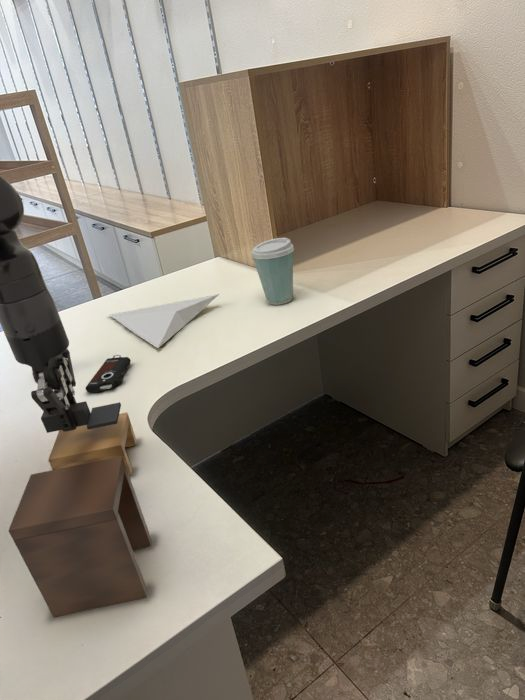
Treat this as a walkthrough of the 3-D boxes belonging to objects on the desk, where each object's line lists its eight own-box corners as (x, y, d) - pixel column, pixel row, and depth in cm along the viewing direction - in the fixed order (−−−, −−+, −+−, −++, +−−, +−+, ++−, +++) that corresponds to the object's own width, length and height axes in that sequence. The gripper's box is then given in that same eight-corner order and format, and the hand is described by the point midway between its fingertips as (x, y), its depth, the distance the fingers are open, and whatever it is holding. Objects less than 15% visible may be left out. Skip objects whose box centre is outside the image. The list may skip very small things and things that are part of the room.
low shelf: (61, 490, 82) (48, 459, 79) (72, 454, 90) (60, 425, 87) (131, 475, 82) (121, 444, 80) (136, 441, 90) (127, 412, 88)
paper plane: (142, 298, 152) (138, 285, 151) (222, 306, 138) (219, 291, 136) (74, 338, 134) (69, 324, 132) (159, 352, 119) (154, 336, 117)
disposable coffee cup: (264, 312, 130) (255, 253, 123) (255, 297, 140) (245, 242, 133) (306, 302, 132) (298, 243, 125) (293, 288, 141) (286, 233, 134)
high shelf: (53, 617, 62) (7, 530, 55) (68, 556, 70) (30, 474, 63) (146, 597, 62) (112, 508, 56) (151, 538, 70) (122, 455, 64)
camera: (132, 354, 115) (113, 382, 105) (134, 365, 116) (116, 394, 107) (104, 354, 116) (83, 382, 106) (107, 365, 117) (86, 393, 108)
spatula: (44, 438, 80) (38, 423, 78) (52, 419, 84) (46, 404, 83) (117, 423, 80) (111, 408, 79) (121, 405, 85) (116, 390, 83)
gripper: (19, 309, 80) (58, 404, 88) (-12, 351, 68) (36, 457, 76) (68, 300, 80) (103, 395, 88) (46, 339, 68) (88, 446, 76)
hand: (72, 423), depth 82 cm, fingers closed on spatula, 2 cm apart
